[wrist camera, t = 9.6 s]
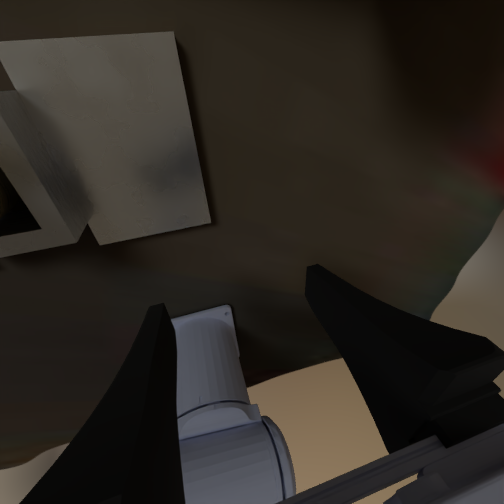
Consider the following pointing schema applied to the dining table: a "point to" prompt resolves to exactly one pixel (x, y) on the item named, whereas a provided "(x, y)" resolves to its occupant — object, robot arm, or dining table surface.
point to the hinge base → (97, 141)
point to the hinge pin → (7, 195)
